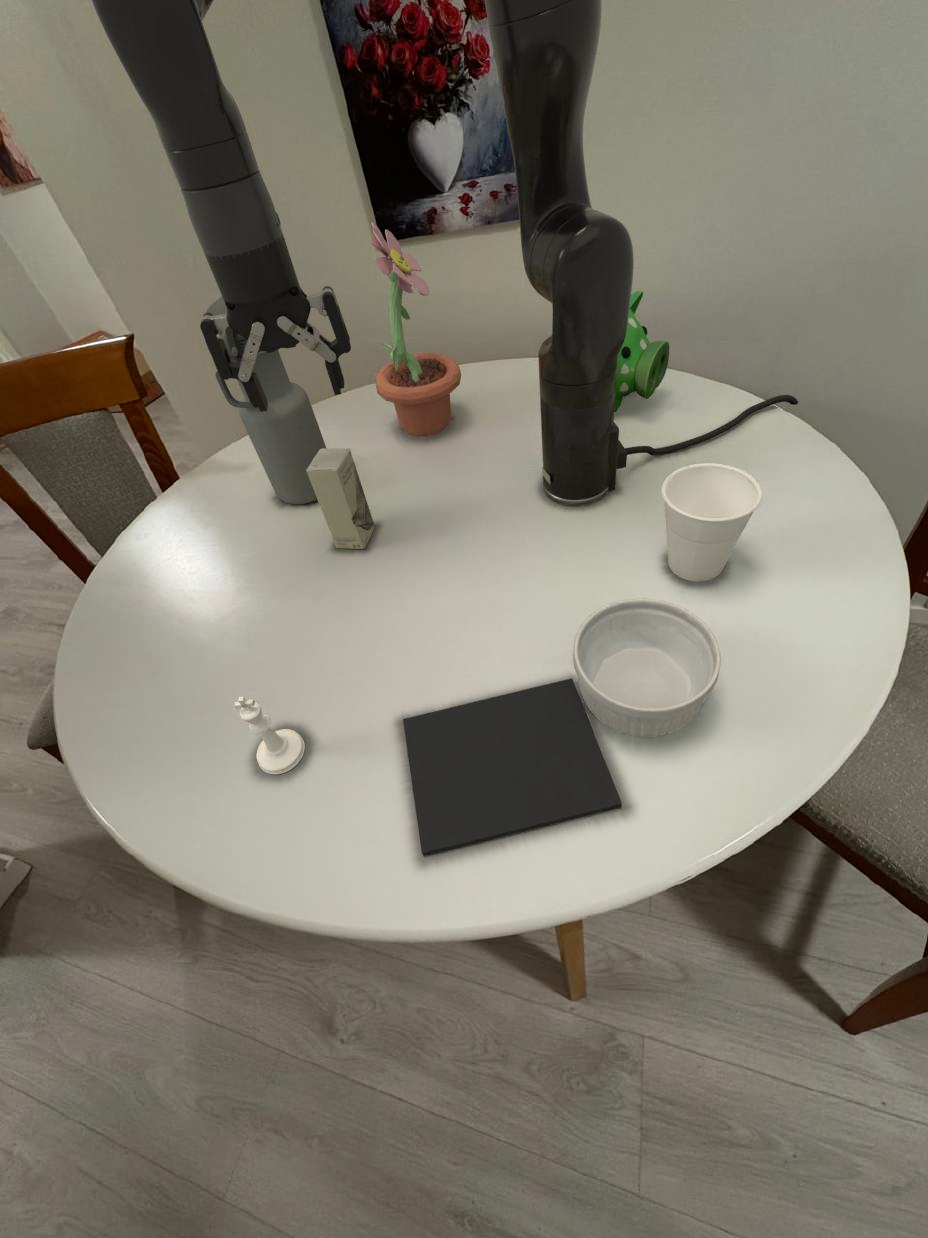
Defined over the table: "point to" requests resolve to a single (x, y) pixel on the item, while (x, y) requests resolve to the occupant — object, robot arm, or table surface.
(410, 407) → the decorative flower
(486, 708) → the mat
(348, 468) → the box
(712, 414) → the table surface
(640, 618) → the ramekin
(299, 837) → the table surface
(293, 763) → the chess piece
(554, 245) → the robot arm
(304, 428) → the water bottle
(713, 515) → the cup
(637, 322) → the piggy bank
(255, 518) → the table surface
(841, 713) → the table surface
